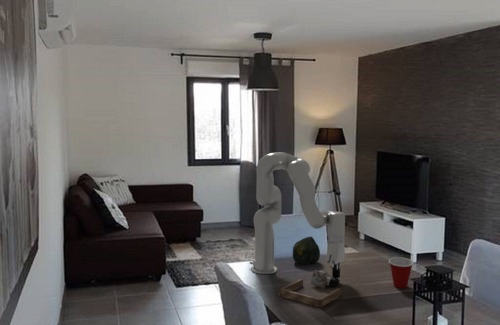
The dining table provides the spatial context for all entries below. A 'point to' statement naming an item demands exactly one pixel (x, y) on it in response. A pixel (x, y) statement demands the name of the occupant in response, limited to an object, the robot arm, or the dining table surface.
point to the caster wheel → (323, 279)
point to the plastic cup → (400, 271)
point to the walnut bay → (321, 302)
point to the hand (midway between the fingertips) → (336, 277)
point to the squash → (306, 251)
